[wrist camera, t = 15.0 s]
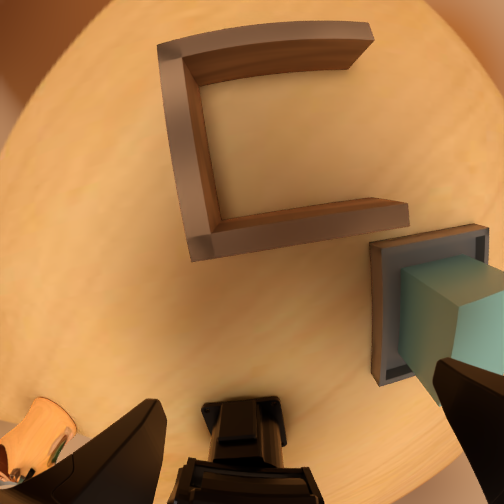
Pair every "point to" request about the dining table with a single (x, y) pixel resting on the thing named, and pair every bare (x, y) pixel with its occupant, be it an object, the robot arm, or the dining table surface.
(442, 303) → the teal block
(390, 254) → the gray tray
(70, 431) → the beer glass
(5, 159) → the dining table surface
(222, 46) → the frame
